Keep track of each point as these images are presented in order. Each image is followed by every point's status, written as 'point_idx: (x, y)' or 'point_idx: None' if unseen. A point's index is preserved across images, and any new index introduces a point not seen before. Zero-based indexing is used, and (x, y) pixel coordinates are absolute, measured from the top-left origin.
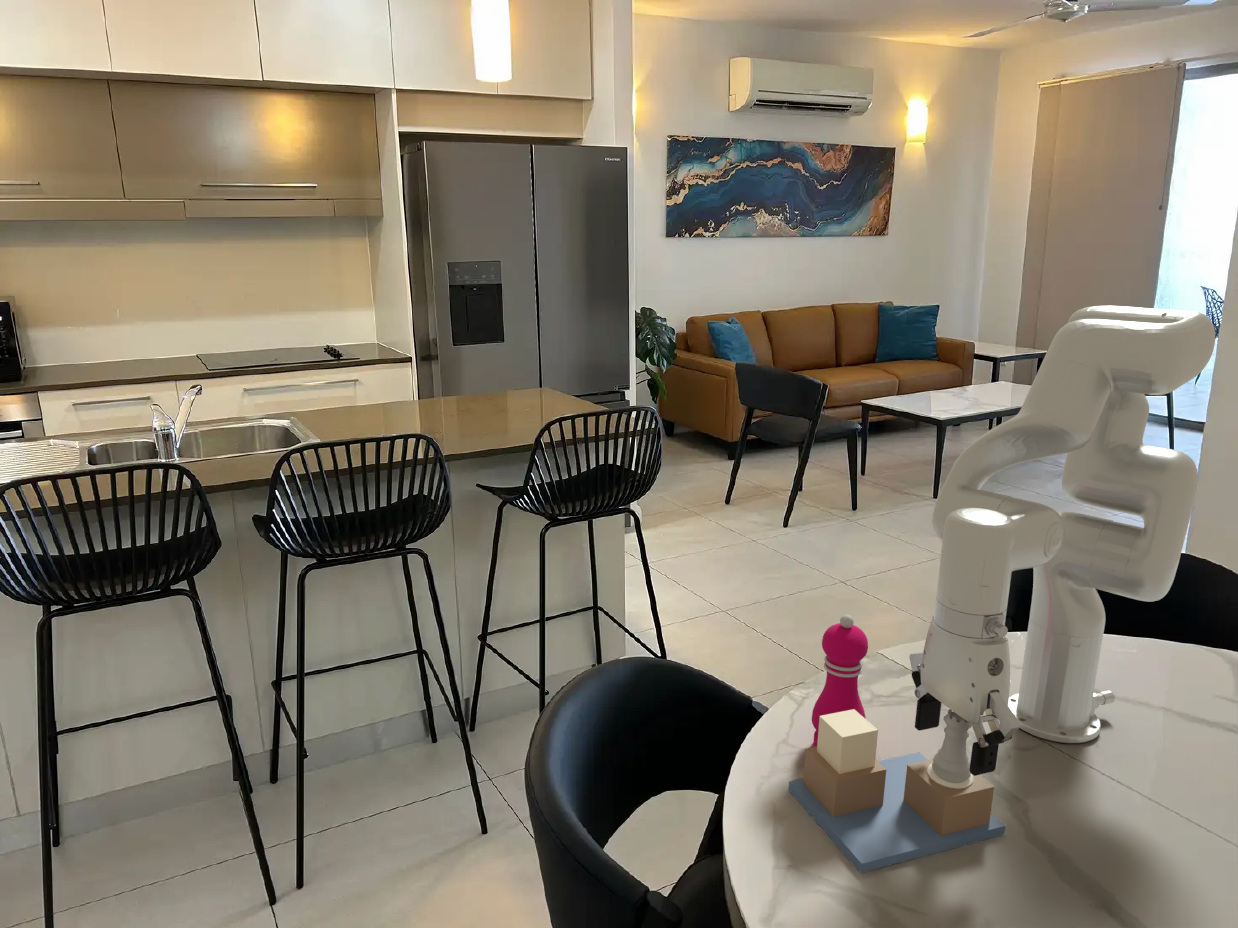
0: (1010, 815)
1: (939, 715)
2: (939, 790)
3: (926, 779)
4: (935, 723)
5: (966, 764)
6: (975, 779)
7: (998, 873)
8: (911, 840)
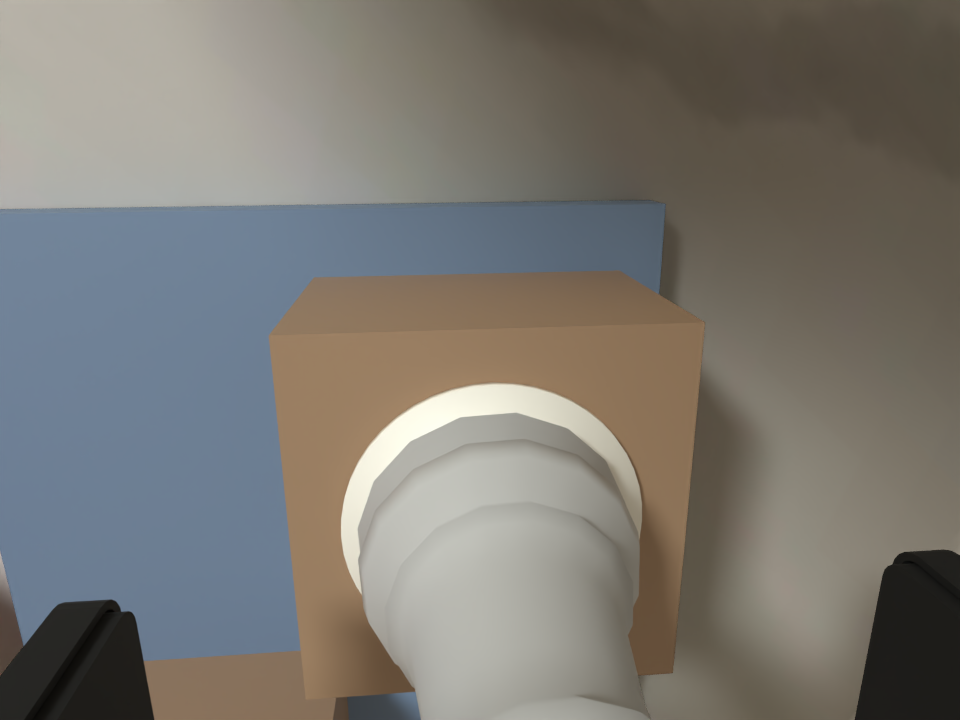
0: (546, 53)
1: (68, 716)
2: None
3: None
4: (123, 677)
5: (621, 553)
6: (588, 390)
7: (815, 400)
8: None
